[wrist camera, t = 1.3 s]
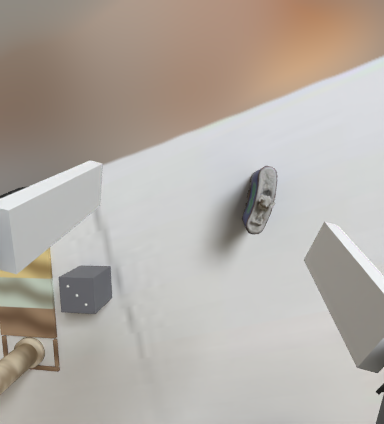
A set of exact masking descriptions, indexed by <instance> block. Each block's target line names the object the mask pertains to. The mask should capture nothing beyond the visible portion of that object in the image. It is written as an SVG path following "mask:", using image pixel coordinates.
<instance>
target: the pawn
mask: <svg viewBox="0 0 384 424" xmlns="http://www.w3.org/2000/svg"><path fill="white" fill-rule="evenodd" d="M44 356H45V351H44V347H43V345H42V344H41V342H40V341H39V340H37V339H36V338H33V337H25V338H23V339H22V340H20V341H19V342H18V343H17V344H16V345H15V347H14V350H13V351H12V352H10V353H9V354H8V355H6V356H5V357H4V358H2V359H1V360H0V394H2V393H3V392H4V391H5V390H6V389H7V388H8V387H9V386H10V385H11V384H12V383H14V382H15V381H16V380H17V379H18V378H19V377H20V376H21V375H22V374H23V373H24V372H26V371H27V370H28V369H29V368H34V367H36V366H37V365H38V364H39V363H41V362H42V360H43V359H44Z"/></svg>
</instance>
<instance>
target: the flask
mask: <svg viewBox="0 0 384 424" xmlns="http://www.w3.org/2000/svg"><path fill="white" fill-rule="evenodd" d="M250 182H251V186H250V190H249V191H248V196H247V198H248V202H247V203H246V209H245V210H244V213H243V217H242V220H243V222H244V224H245V226H246V229H247V231H248V233H250V234H259V233H260V232H262V231H263V229H264V227H265V225H266V223H267V220H268V218H269V216H270V214H271V211H272V208H273V206H274V205H275V202H274V201H275V194H276V187H277V172H276V170H275V169H274V168H273V167H270V166H264V167H263V168H262V169H260V170H258V171H256V172H254V173H253V175H252V179H251V181H250Z"/></svg>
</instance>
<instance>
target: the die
mask: <svg viewBox="0 0 384 424" xmlns="http://www.w3.org/2000/svg"><path fill="white" fill-rule="evenodd" d="M59 286H60V299H61V312H68V313H87V314H96V313H97V312H98V311H99V310H100V309H101V308H102V307H103V306H104V305H105V304H106V303H107V302H108V301H109V300H110V299H111V298H112V285H111V267H110V266H79V267H77V268H75V269H73V270H71V271H70V272H68V273H66V274H64V275H62V276H60V277H59Z"/></svg>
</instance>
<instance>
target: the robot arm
mask: <svg viewBox="0 0 384 424" xmlns="http://www.w3.org/2000/svg"><path fill="white" fill-rule="evenodd" d="M102 168H103V164H102V163H98V162H94V161H88V162H85V163H83V164H81V165H79V166H76V167H74V168H71V169H69V170H67V171H64V172H62V173H60V174H57V175H55V176H53V177H50V178H48V179H45V180H43V181H41V182H38V183H36V184H34V185H31V186H28V187H22V188H18V189H15V190H13V191H10V192H8V194H7V193H6V194H3V195H1V196H0V270H2V271H6V272H10V273H13V274H18V273H19V272H20V271H22V270H23V269H24V268H25V267H26V266H28V265H29V264H30V263H31V262H32V261H34V260H35V259H36V258H37V257H39V256H40V255H41V254H42V253H43V252H45V251H46V250H47V249H48V248H50V247H51V246H52V245H53V244H54V243H56V242H57V241H58V240H59V239H61V238H62V237H63V236H64V235H65V234H67V233H68V232H69V231H70V230H71V229H73V228H74V227H75V226H76V225H78V224H79V223H80V222H81V221H82V220H84V219H85V218H86V217H87V216H89V215H90V214H91V213H92V212H93V211H95V210H96V209H97V208H98V207H99V206H100V201H101V185H102ZM304 261H305V263H306V265H307V267H308V269H309V271H310V273H311V275H312V277H313V279H314V281H315V284H316V286H317V288H318V290H319V292H320V294H321V296H322V298H323V300H324V302H325V304H326V306H327V308H328V310H329V312H330V314H331V316H332V318H333V320H334V322H335V324H336V326H337V328H338V330H339V332H340V334H341V336H342V338H343V340H344V342H345V344H346V346H347V348H348V350H349V352H350V354H351V356H352V358H353V360H354V362H355V364H356V366H357V368H360V369H364V370H368V371H371V372H375V373H378V372H379V371H380V370H381V369H382V368H383V367H384V276H383V274H382V273H381V272H380V271H379V270H378V269H377V268H376V267H375V266H374V265H373V263H372V262H371V261H370V260H369V259H368V258H367V257H366V256H365V255H364V254H363V252H362V251H361V250H360V249H359V248H358V247H357V246H356V245H355V244H354V243H353V241H352V240H351V239H350V238H349V237H348V236H347V235H346V234H345V233H344V232H343V231H342V229H341V228H340V227H339V226H338V225H335V224H331V223H327V222H324V224H323V225H322V227H321V229H320V231H319V233H318V235H317V237H316V238H315V240H314V242H313V244H312V246H311V248H310V249H309V251H308V253H307V255H306V257H305V259H304ZM381 392H384V384H383V385H382V386H381V387H380V388H379V389H378V390H377V391H376V393H378V394H380V393H381ZM376 424H384V396H383V399H382V403H381V407H380V410H379V414H378V418H377V421H376Z"/></svg>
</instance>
